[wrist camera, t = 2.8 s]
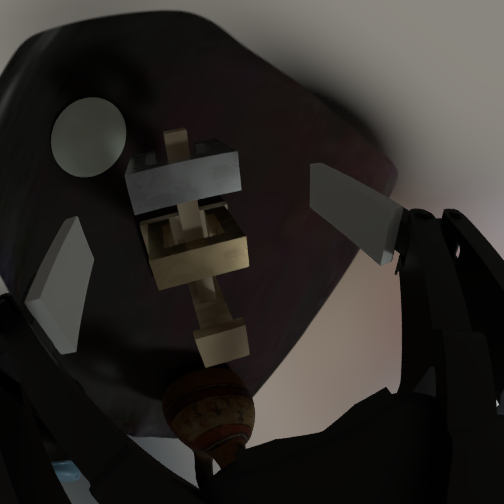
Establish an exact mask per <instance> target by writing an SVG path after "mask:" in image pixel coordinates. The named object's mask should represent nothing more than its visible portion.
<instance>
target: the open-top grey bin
mask: <svg viewBox="0 0 504 504" xmlns="http://www.w3.org/2000/svg"><path fill="white" fill-rule="evenodd" d="M193 147H194V154H195V155H191V156H186V157H181V158H177V159H172V160H168V161H164V162H159V163H157V161H156V156H155V151H151V152H147V153H143V154H139V155H136V156H132V157H131V159H130V162H129V165H128V168H127V170H126V173H125V180H126V184H127V188H128V192H129V196H130V200H131V203H132V207H133V211H134V214H135V215H138V214H141V213H145V212H149V211H153V210H157V209H161V208H165V207H169V206H173V205H177V204H181V203H185V202H189V201H194V200H198V199H202V198H207V197H211V196H216V195H220V194H225V193H230V192H235V191H240V190H241V181H240V171H239V161H238V151H236V150H235V149H233V148H231V147H230V146H228V145H226V144H225V143H223V142H221V141H220V140H218V139H216V138H214V139H209V140H203V141H198V142H193Z"/></svg>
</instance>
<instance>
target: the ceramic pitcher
mask: <svg viewBox="0 0 504 504" xmlns="http://www.w3.org/2000/svg"><path fill="white" fill-rule="evenodd" d="M162 409H163V414H164V417H165V419H166V421H167V423H168V425H169V427H170V428H171V430H172V431H173V433H174V434H175V435H176V436H177V438H178V439H179V440H180V441H182V442H183V443H184V444H185V445H187V446H188V447H189V448H190V449H192V451H193V452H194V457H195V471H196V480H197V483H198V487H199V489H201V490H202V489H203V488H204V486H205V485H206V483H207V482H208V481H209V480H210V479H211V478H212V477H213V476H214V475H213V467H212V461H213V459H214V460H215V461H216V462H217V463H218V465H219V466H220V468H221V469H222V468H224V467H225V466H226V465H228V464H230V463H231V462H233V461H235V457H234V455H233V453H234V452H237V451H241V450H244V449H246V447H245V444H246V443H247V442H248V440H249V439H250V437H251V434H252V431H253V427H254V422H255V408H254V402H253V399H252V395H251V393H250V391H249V389H248V387H247V386H246V384H245V383H244V382H243V380H242V379H241V378H240V377H239V376H238V375H237V374H236V373H234V372H232V371H230V370H228V369H224V368H204V369H200V370H196V371H192V372H189V373H187V374H184V375H182V376H181V377H179V378H178V379H177V380H175V381H174V382H173V383H172V384H171V385H169V387H168V388H167V389H166V391H165V393H164V395H163V398H162Z"/></svg>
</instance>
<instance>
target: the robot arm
mask: <svg viewBox="0 0 504 504" xmlns="http://www.w3.org/2000/svg"><path fill="white" fill-rule="evenodd" d="M310 208H312V209H313V210H314V211H315V212H317V213H318V214H319V215H321V216H322V217H323V218H324V219H326V220H327V221H328V222H329V223H331V224H332V225H333V226H334V227H335V228H337V229H338V230H339V231H340V232H341V233H343V234H344V235H345V236H346V237H348V238H349V239H350V240H351V241H352V242H353V243H355V244H356V245H357V246H358V247H359V248H361V249H362V250H363V251H364V252H365V253H366V254H367V255H369V256H370V257H371V258H372V259H373V260H374V261H376V262H377V263H378V264H379V265H380V266H381V265H383V264H386V263H388V262H391V261H392V259H393V255H394V250H396V251H397V252H399V253H400V255H399V259H398V263H397V267H396V271H395V275H397V272H398V271H399V276H400V290H401V309H402V365H401V382H400V386H399V389H398V391H397V393H395V394H391V393H390V391H389V390H388V389H387V387H385V388H383V389H382V390H380V391H378V392H376V393H375V394H373V395H371V396H369V397H368V398H366V399H364V400H362V401H360V402H359V403H357V404H355V405H354V406H353V407H351V408H350V409H349V410H348V411H347V412H346V413H345V414H343V415H342V416H341V417H340V418H339V419H338V420H336V421H335V422H334V423H333V424H332V425H330V426H329V427H328V428H327V429H325V430H324V431H322V432H319V433H315V434H309V435H303V436H296V437H291V438H283V439H275V440H272V441H270V442H267V443H263V444H260V445H257V446H254V447H251V448H248V449H244V450H241V451H237V452H234V453H233V455H234V457H235V461H233V462H231V463H230V464H228V465H226V466H225V467H224V468H222V469H221V470H219V471H218V472H217V473H216V474H215V475H214V476H213V477H212V478H211V479H210V480H209V481H208V482H207V483H206V485H205V486H204V488H203V489H202V490H201V489H199V488H197V487H196V486H194V485H193V484H191V483H189V482H188V481H186V480H185V479H183V478H182V477H180V476H178V475H177V474H175V473H174V472H172V471H171V470H169V469H168V468H166V467H165V466H164V465H162V464H161V463H160V462H159V461H157V460H156V459H155V458H153V457H152V456H151V455H149V454H148V453H147V452H146V451H145V450H143V449H142V448H141V447H140V446H139V445H137V444H136V443H135V442H134V441H133V440H132V439H130V438H129V437H128V436H127V435H126V434H125V433H124V432H123V431H122V430H121V429H120V428H118V427H117V426H116V425H115V424H114V423H113V422H112V421H111V420H110V419H109V418H108V417H107V416H106V415H105V414H104V413H103V412H102V411H101V410H100V409H99V408H98V407H97V406H96V405H95V403H94V402H93V401H92V400H91V399H90V398H89V397H88V396H87V395H86V394H85V391H84V389H83V387H82V386H81V385H80V384H79V383H78V382H76V381H75V380H74V379H73V378H72V377H71V376H70V375H69V374H68V372H67V371H66V370H65V369H64V367H63V366H62V365H61V363H60V362H59V361H58V359H57V358H56V357H55V356H54V354H53V353H52V351H53V346H55V347H56V348H57V350H58V351H59V352H60V353H61V354H67V353H72V352H76V350H77V343H78V335H79V329H80V323H81V317H82V311H83V306H84V301H85V296H86V291H87V287H88V282H89V278H90V274H91V270H92V266H93V262H94V258H93V255H92V253H91V251H90V248H89V246H88V243H87V241H86V238H85V235H84V233H83V230H82V227H81V225H80V222H79V219H78V216H75V217H72V218H69V219H66V220H65V221H64V223H63V225H62V226H61V228H60V230H59V232H58V233H57V235H56V237H55V239H54V241H53V243H52V244H51V246H50V248H49V250H48V252H47V254H46V256H45V258H44V260H43V262H42V264H41V266H40V268H39V270H38V271H37V272H36V273H35V274H34V276H33V277H32V278H31V279H30V281H29V284H28V286H27V288H26V290H25V292H24V295H23V297H22V300H21V302H20V304H19V306H18V305H17V303H16V302H15V300H14V299H13V297H12V295H11V294H10V293H5V294H2V295H0V504H72V503H71V502H70V500H69V498H68V496H67V494H66V493H65V491H64V489H63V487H62V485H61V483H60V481H63V482H69V481H76V480H78V479H79V478H80V476H81V473H82V474H83V475H84V476H85V477H86V479H87V480H88V481H89V482H90V485H91V486H90V488H89V490H90V492H91V494H92V496H93V497H94V498H95V499H96V501H97V502H98V503H99V504H504V260H503V259H502V258H501V256H500V255H499V254H498V253H497V251H496V250H495V249H494V248H493V247H492V245H491V244H490V243H489V242H488V241H487V240H486V238H485V237H484V236H483V235H482V234H481V233H480V231H479V230H478V229H477V228H476V227H475V226H474V225H473V224H472V223H471V222H470V221H469V220H468V218H467V217H466V216H464V215H463V214H462V213H461V212H459V211H458V210H455V209H444V212H443V215H442V218H438V219H437V218H435V217H434V215H433V214H432V213H430V212H428V211H426V210H423V209H411V210H410V211H408V210H407V209H405V208H404V207H403V206H401V205H399V204H398V203H396V202H394V201H392V200H391V199H389V198H387V197H386V196H384V195H382V194H380V193H379V192H377V191H375V190H373V189H371V188H370V187H368V186H366V185H364V184H362V183H360V182H359V181H357V180H355V179H353V178H351V177H349V176H347V175H345V174H343V173H341V172H339V171H337V170H335V169H333V168H331V167H329V166H327V165H325V164H323V163H316V164H310ZM458 246H460V254H459V257H458V258H457V256H456V252H457V249H458ZM496 400H497V401H498V403H499V405H498V406H496Z"/></svg>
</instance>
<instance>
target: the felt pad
mask: <svg viewBox="0 0 504 504" xmlns="http://www.w3.org/2000/svg"><path fill="white" fill-rule="evenodd" d="M125 140H126V125H125V121H124V118H123V116H122V114H121V112H120V111H119V110H118V108H117V107H116V106H115V105H113V104H112V103H111V102H109V101H107V100H105V99H101V98H84V99H80V100H78V101H76V102H74V103H72V104H71V105H69V106H68V107H67V108H66V109H65V110H64V111H63V112H62V113H61V114H60V115H59V117H58V119H57V120H56V122H55V124H54V127H53V130H52V135H51V147H52V152H53V155H54V157H55V160H56V161H57V163H58V164H59V165H60V167H61V168H62V169H63V170H65V171H66V172H68V173H69V174H72V175H74V176H78V177H92V176H96V175H98V174H101V173H103V172H104V171H106V170H107V169H109V168H110V167H111V166H112V165H113V164H114V163H115V162H116V160H117V159H118V158H119V156H120V154H121V152H122V150H123V148H124V145H125Z"/></svg>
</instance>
